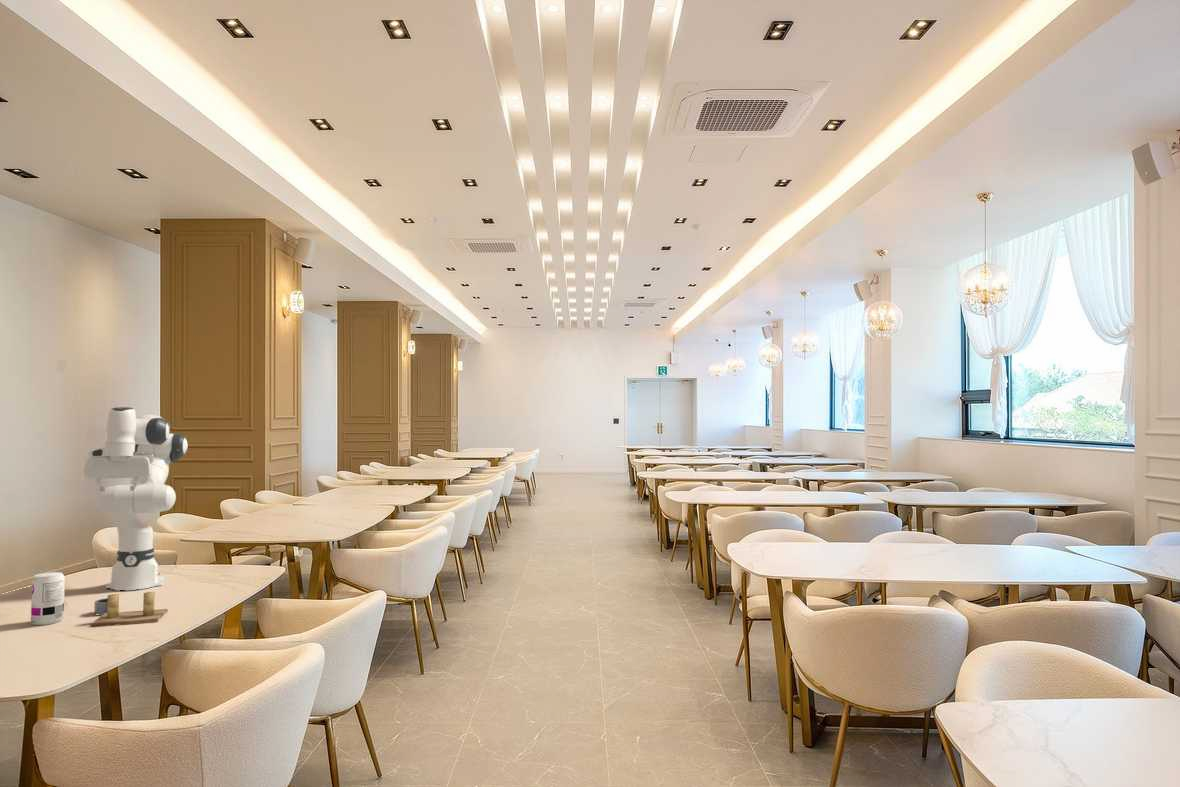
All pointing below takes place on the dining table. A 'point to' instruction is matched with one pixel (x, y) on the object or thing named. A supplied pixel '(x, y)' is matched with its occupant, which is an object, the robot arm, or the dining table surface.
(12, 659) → the dining table surface
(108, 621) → the post board
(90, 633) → the dining table surface
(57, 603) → the supplement can
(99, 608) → the ring
